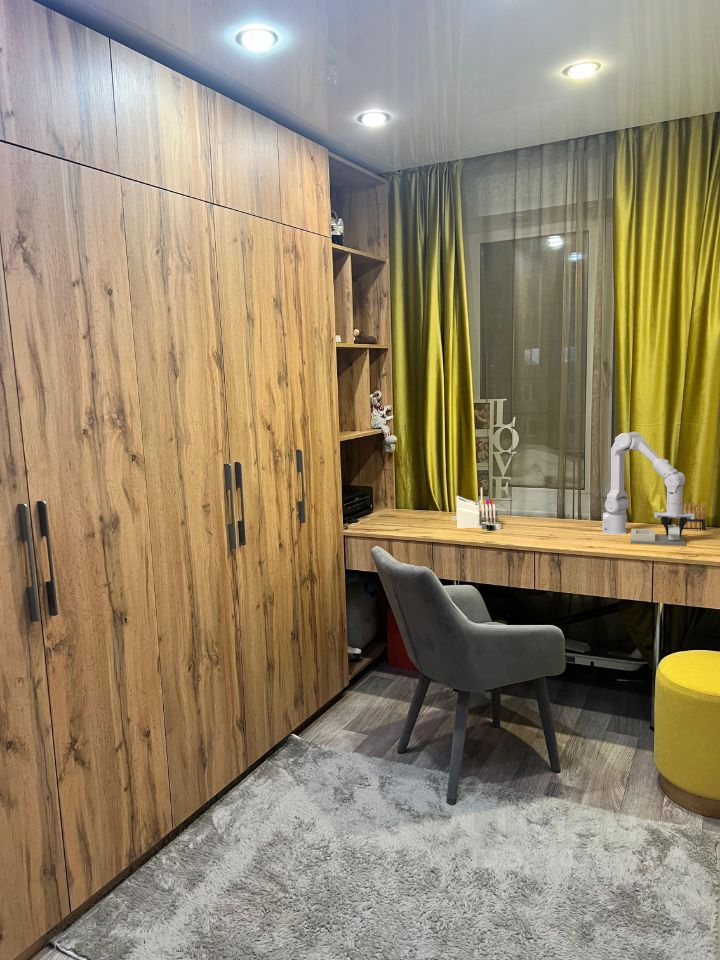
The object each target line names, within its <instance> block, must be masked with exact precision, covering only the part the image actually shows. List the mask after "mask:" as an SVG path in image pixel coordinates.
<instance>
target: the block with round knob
mask: <svg viewBox="0 0 720 960" xmlns="http://www.w3.org/2000/svg"><path fill="white" fill-rule="evenodd" d="M679 535H680V528H679V526H678V525H677V524H676V523H671V524H670V525H669V524H668V540H679Z"/></svg>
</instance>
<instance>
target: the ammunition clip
mask: <svg viewBox="0 0 720 960" xmlns="http://www.w3.org/2000/svg"><path fill="white" fill-rule="evenodd" d="M683 504H684V505H683V508H682V513H690V514H694V519H687V522H686V524H685V526H684V528H683V529H700V530H699V531H706V516H707V515H706V505H705V503H704V502H703V503H702V506H701V503H698V504H697V506H696V503H695V502H694V503H693V505H692V503H691V502H689V503H688V505H687V502H684V503H683ZM677 526H679V528H680V518H678V523H677ZM701 529H702V530H701Z"/></svg>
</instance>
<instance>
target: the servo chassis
mask: <svg viewBox="0 0 720 960" xmlns="http://www.w3.org/2000/svg"><path fill="white" fill-rule="evenodd" d="M630 530H631V531H630V544H632V545H633V544H634V545H652V546H653V545H656V546H671V547H672V546H673V547H675V546H676V547H686V541H685V536H684V535H683V534H681V537H679V540H668V536H666V534H662V533H661V534H658V533H656V529H650V528H649V529H647V528H631V529H630Z"/></svg>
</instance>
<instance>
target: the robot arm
mask: <svg viewBox="0 0 720 960" xmlns="http://www.w3.org/2000/svg"><path fill="white" fill-rule="evenodd" d="M630 450H634V451H638V452H640V453H641V454H642V455H643V456H644V457H645V458H646V459H647V460H648V461H650V463H652V468H653V470H655V472H656V473H657V474H658V475H659V476H660V477H661V478H662V479H663V480H664V485H665V486H666V511H665V512H662V511H661V512H658V511H657V512H656V511H655V512H654V515H653V516H654V518H655V519H661V522H662V525H663V527H664V529H665V533H666V534H665V535H666V536H668V525H669V519H679V518H680V535H679V537H681V535H683V531H684V530H683V528H684V526H685V524H686V522H687V519H694V514H690V513H688V512H687V513H682V509H683V497H684V496H683V495H684V494H683V493H684V492H683V491H684V490H683V489H684V486H683V485H685V484H686V477H685V474H684V473H683V472H680V471H678V469H677V468H674V466H672V465H671V463H670V461H669V460H668V459H665V458H661V457H659V455H658V454H657V453H656V452H655V451H654V449H652V447H651V446H650V445H649V444H648V442H646V439H645V437H643V436H642V435H641V433H640V432H638V431H631V432H626V433H625V432H622V433H620V434H618V435H617V436H616V437H614V442H613V444H612V447H611V448H610V490H609V492H608V493H607V495H606V500H605V502H604V508H605V511H606V512H603V513H602V526H601V529H602V534H603V535H604V534H605V535H621V534H626V535H627V533H626V532H627V531H628V530H627V528H626V525H627V524H626V523H627V522H626V521H627V518H626V516H627V510H628V509H629V506H630V501H629V499H628V494H627V492H626V490H625V455H626V453H628V452H629V451H630Z"/></svg>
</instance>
